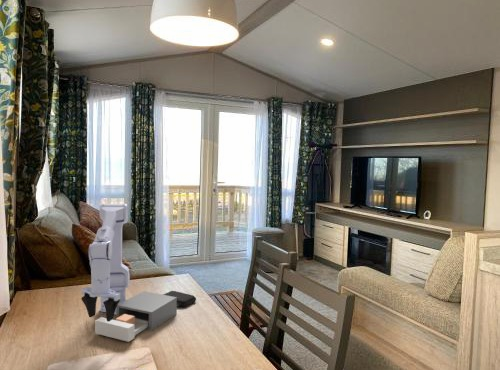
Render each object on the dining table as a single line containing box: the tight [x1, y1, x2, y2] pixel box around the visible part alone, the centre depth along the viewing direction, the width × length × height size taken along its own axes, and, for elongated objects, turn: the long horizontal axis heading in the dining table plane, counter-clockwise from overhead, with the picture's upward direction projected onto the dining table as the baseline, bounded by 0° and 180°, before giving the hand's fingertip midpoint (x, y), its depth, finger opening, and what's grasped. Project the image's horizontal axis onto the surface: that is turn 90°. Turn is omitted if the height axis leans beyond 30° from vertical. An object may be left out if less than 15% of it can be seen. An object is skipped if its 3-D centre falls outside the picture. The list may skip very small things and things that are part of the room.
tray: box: [94, 316, 149, 342], centre depth 134 cm, size 14×14×5 cm
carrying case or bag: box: [162, 290, 197, 308], centre depth 163 cm, size 11×3×15 cm
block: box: [115, 314, 135, 325], centre depth 134 cm, size 4×4×4 cm
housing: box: [115, 290, 178, 331], centre depth 145 cm, size 16×16×7 cm
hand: (100, 318), depth 125 cm, fingers open, 7 cm apart
